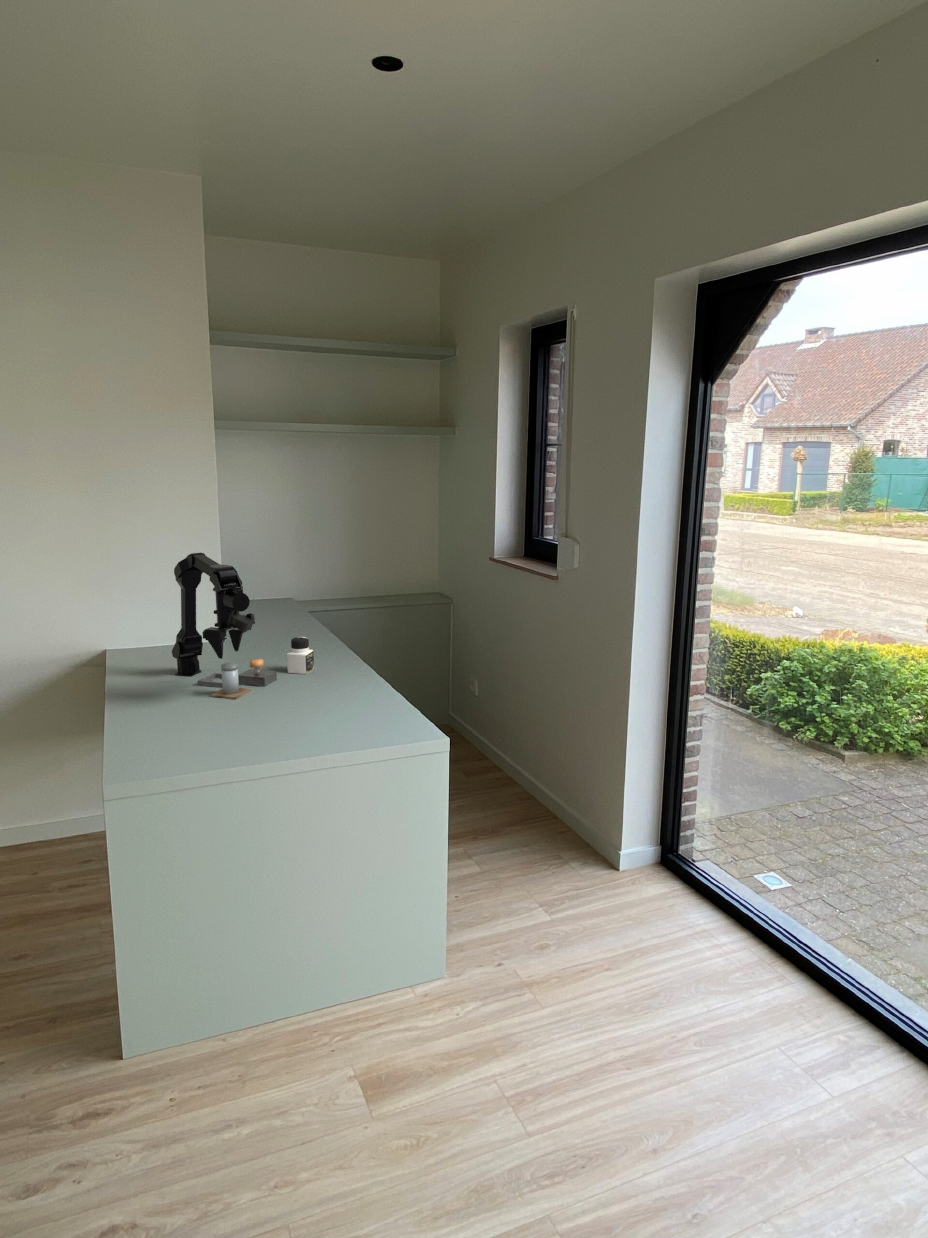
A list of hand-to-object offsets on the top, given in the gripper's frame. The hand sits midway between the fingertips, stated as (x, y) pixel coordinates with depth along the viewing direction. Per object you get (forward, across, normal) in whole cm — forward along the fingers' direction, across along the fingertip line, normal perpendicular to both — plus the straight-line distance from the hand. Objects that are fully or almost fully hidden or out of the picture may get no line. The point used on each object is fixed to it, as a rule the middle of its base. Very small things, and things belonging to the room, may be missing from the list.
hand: (228, 654), depth 253 cm
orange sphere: (+10, +14, -2) cm, 17 cm away
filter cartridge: (+12, 0, 0) cm, 12 cm away
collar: (+13, +10, +10) cm, 19 cm away
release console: (+13, +14, -2) cm, 19 cm away
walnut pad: (+13, 0, 0) cm, 13 cm away
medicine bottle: (+13, +30, -10) cm, 34 cm away
